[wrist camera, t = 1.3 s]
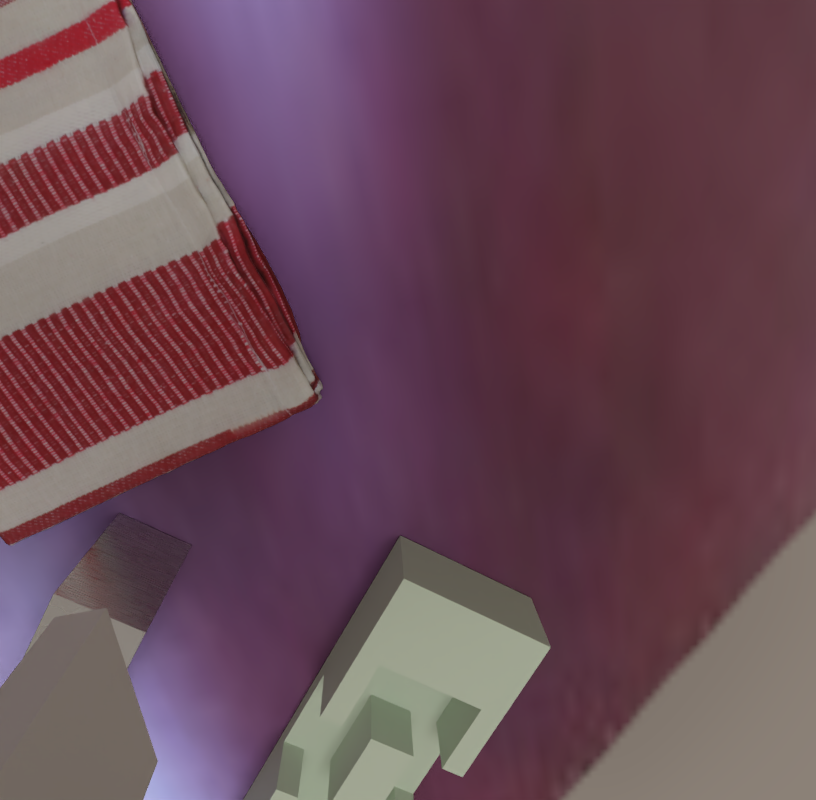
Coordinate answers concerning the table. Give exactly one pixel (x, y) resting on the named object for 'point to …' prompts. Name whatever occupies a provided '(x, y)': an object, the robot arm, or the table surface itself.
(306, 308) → the table surface
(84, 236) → the dish towel
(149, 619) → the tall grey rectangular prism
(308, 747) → the rail
